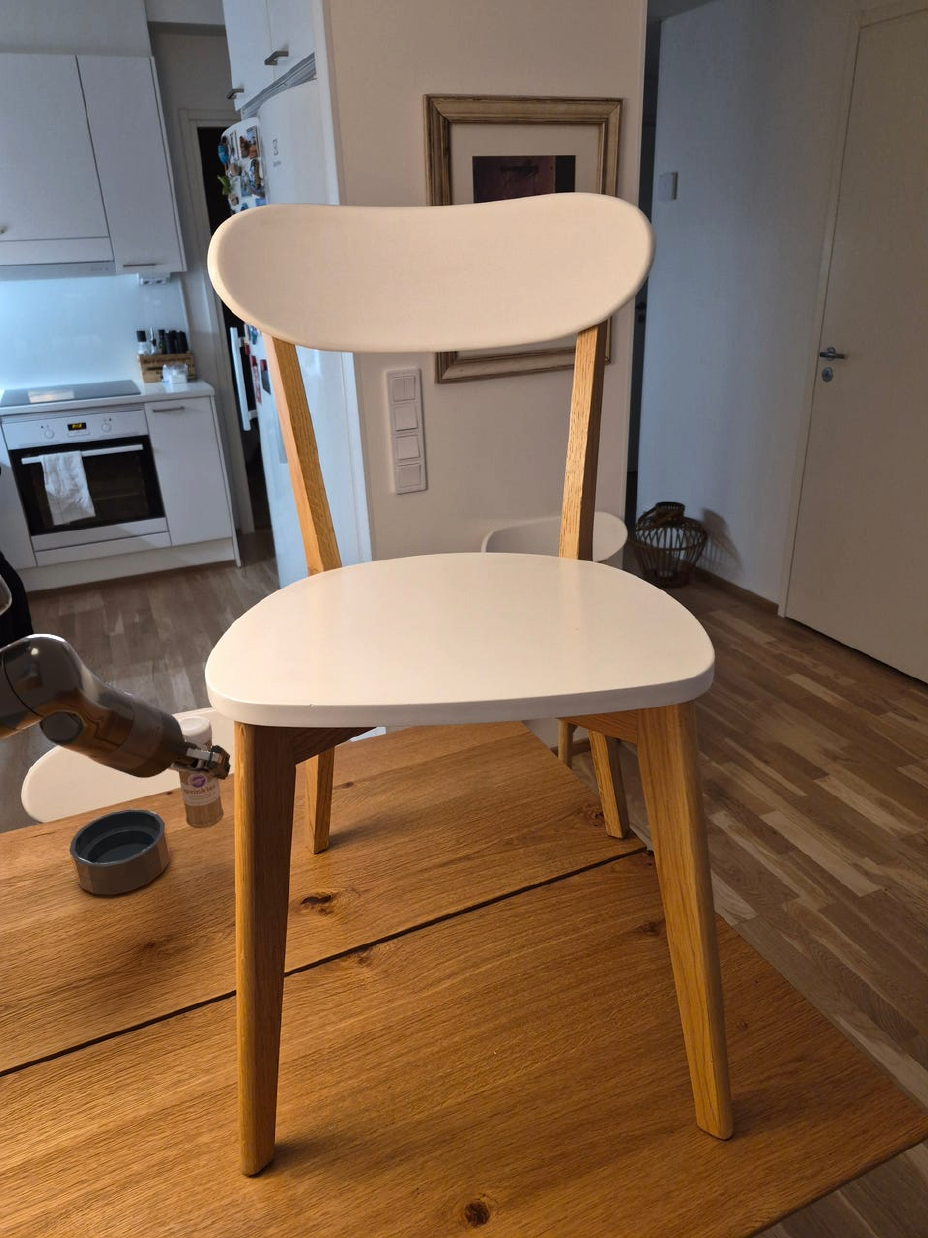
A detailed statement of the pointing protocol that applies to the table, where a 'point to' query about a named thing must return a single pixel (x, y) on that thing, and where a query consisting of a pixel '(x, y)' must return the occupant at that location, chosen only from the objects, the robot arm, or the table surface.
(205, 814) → the sprinkles bottle
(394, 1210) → the table surface
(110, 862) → the bowl
